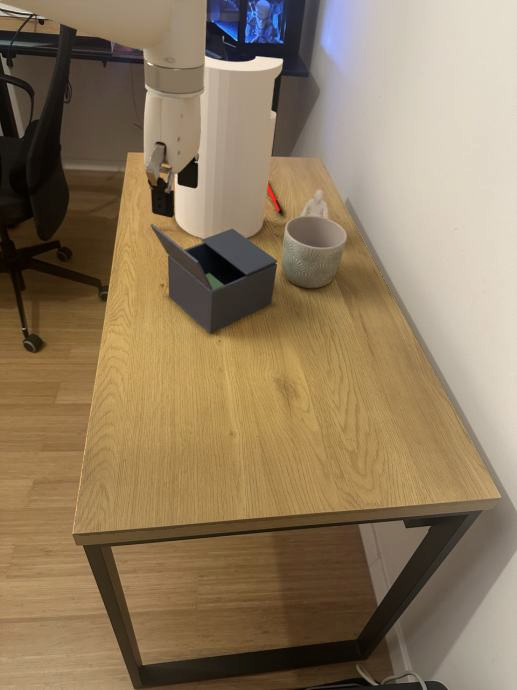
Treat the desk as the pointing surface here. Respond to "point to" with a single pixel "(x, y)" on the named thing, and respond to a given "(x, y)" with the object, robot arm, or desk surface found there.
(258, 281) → the carton
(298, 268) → the planter
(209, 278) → the block
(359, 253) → the desk surface
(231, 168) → the white rounded tall casing
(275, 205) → the pen
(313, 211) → the figurine
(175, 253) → the flap
